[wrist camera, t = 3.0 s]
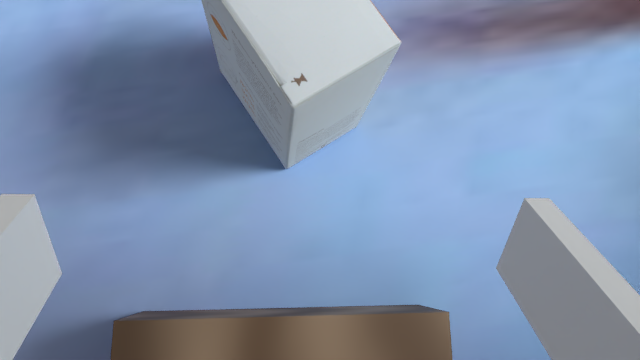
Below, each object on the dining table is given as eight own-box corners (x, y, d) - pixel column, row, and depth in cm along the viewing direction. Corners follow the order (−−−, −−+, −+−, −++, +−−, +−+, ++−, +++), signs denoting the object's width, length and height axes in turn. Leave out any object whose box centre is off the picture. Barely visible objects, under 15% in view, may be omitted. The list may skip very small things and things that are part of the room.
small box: (357, 128, 28) (408, 45, 18) (284, 172, 27) (293, 111, 16) (290, 31, 29) (302, -102, 18) (217, 70, 28) (186, -50, 17)
